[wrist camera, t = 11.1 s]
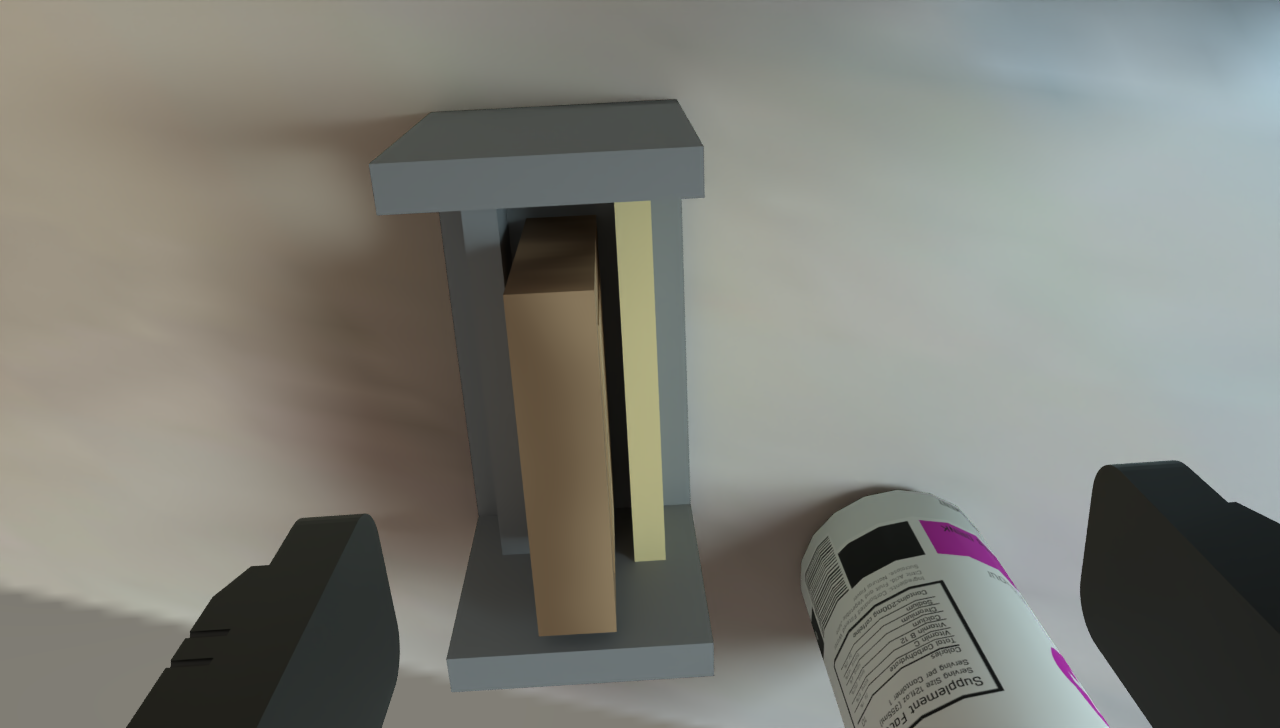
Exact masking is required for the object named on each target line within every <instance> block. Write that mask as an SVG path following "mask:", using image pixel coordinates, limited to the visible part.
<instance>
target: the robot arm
mask: <svg viewBox="0 0 1280 728" xmlns="http://www.w3.org/2000/svg"><path fill="white" fill-rule="evenodd" d="M1080 597H1081V606H1082V611H1083V616H1084V619H1085V623H1086V626H1087V628H1088V631H1089V633H1090V635H1091V637H1092V639H1093V641H1094V643H1095V644H1096V646H1097V647H1098V649H1099V650H1100V652H1101V653H1102V654H1103V656H1104V657H1105V659H1106V660H1107V662H1108V663H1109V665H1110V666H1111V668H1112V669H1113V670H1114V672H1115V673H1116V675H1117V676H1118V678H1119V679H1120V681H1121V682H1122V683H1123V685H1124V686H1125V688H1126V689H1127V691H1128V692H1129V694H1130V695H1131V697H1132V698H1133V699H1134V701H1135V702H1136V704H1137V705H1138V707H1139V708H1140V710H1141V711H1142V713H1143V714H1144V715H1145V717H1146V718H1147V720H1148V721H1149V723H1150V724H1151V726H1152V727H1153V728H1280V524H1279V523H1277V522H1275V521H1273V520H1271V519H1269V518H1267V517H1265V516H1263V515H1261V514H1259V513H1257V512H1255V511H1253V510H1251V509H1249V508H1247V507H1245V506H1243V505H1241V504H1239V503H1237V502H1230V503H1228V502H1227V501H1226V500H1225V499H1223V498H1222V497H1221V496H1220V495H1219V494H1218V493H1217V492H1216V491H1214V490H1213V489H1212V488H1211V487H1210V486H1209V485H1208V484H1207V483H1206V482H1204V481H1203V480H1202V479H1201V478H1200V477H1199V476H1198V475H1197V474H1195V473H1194V472H1193V471H1192V470H1191V469H1190V468H1189V467H1188V466H1186V465H1185V464H1184V463H1182V462H1179V461H1174V460H1172V461H1157V462H1143V463H1128V464H1113V465H1105V466H1103V467H1102V468H1101V469H1100V470H1099V471H1098V473H1097V475H1096V477H1095V480H1094V484H1093V489H1092V497H1091V505H1090V512H1089V520H1088V528H1087V535H1086V543H1085V551H1084V559H1083V566H1082V574H1081V582H1080ZM399 656H400V643H399V631H398V625H397V620H396V615H395V611H394V606H393V601H392V596H391V592H390V587H389V582H388V577H387V573H386V568H385V563H384V559H383V554H382V549H381V544H380V540H379V535H378V531H377V527H376V525H375V522H374V520H373V519H372V517H371V516H370V515H369V514H354V515H339V516H324V517H310V518H301V519H299V520H297V521H296V522H295V524H294V525H293V527H292V528H291V530H290V532H289V533H288V535H287V537H286V538H285V540H284V542H283V543H282V545H281V547H280V548H279V550H278V552H277V553H276V555H275V557H274V558H273V560H272V562H271V563H270V565H264V566H251V567H250V568H248V569H247V570H246V571H245V572H243V573H242V574H241V575H240V576H238V577H237V578H236V579H235V580H233V581H232V582H231V583H230V584H228V585H227V586H226V587H225V588H223V589H222V590H221V591H220V592H218V593H217V594H216V595H215V596H213V597H212V599H211V600H210V602H209V603H208V605H207V606H206V608H205V609H204V611H203V613H202V614H201V616H200V617H199V619H198V620H197V622H196V623H195V625H194V626H193V628H192V629H191V631H190V638H186V639H185V640H184V641H183V643H182V644H181V646H180V647H179V649H178V650H177V652H176V653H175V655H174V656H173V658H172V659H171V667H170V668H166V669H165V670H164V671H163V673H162V674H161V676H160V677H159V679H158V681H157V682H156V683H155V685H154V687H153V688H152V689H151V691H150V693H149V694H148V696H147V697H146V699H145V700H144V702H143V703H142V705H141V706H140V708H139V709H138V711H137V712H136V714H135V715H134V717H133V718H132V720H131V722H130V723H129V724H128V726H127V727H126V728H382V725H383V722H384V719H385V716H386V713H387V709H388V707H389V703H390V700H391V697H392V694H393V691H394V688H395V685H396V681H397V676H398V669H399Z"/></svg>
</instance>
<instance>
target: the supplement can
mask: <svg viewBox="0 0 1280 728" xmlns="http://www.w3.org/2000/svg"><path fill="white" fill-rule="evenodd" d="M801 592H802V595H803V598H804V601H805V604H806V607H807V610H808V614H809V617H810V620H811V623H812V626H813V629H814V632H815V635H816V639H817V642H818V645H819V648H820V651H821V654H822V657H823V660H824V663H825V667H826V670H827V673H828V676H829V679H830V682H831V685H832V688H833V692H834V695H835V698H836V701H837V704H838V707H839V710H840V713H841V717H842V720H843V723H844V726H845V728H1110V727H1109V725H1108V724H1107V722H1106V721H1105V719H1104V718H1103V716H1102V715H1101V713H1100V712H1099V710H1098V709H1097V707H1096V706H1095V705H1094V703H1093V702H1092V700H1091V699H1090V697H1089V696H1088V694H1087V693H1086V691H1085V690H1084V688H1083V687H1082V685H1081V684H1080V682H1079V681H1078V679H1077V678H1076V676H1075V675H1074V673H1073V672H1072V670H1071V669H1070V667H1069V666H1068V664H1067V663H1066V661H1065V660H1064V658H1063V657H1062V655H1061V654H1060V652H1059V651H1058V649H1057V648H1056V646H1055V645H1054V643H1053V642H1052V640H1051V639H1050V637H1049V636H1048V634H1047V633H1046V631H1045V630H1044V628H1043V627H1042V625H1041V624H1040V622H1039V621H1038V619H1037V618H1036V616H1035V615H1034V613H1033V612H1032V611H1031V609H1030V608H1029V606H1028V605H1027V603H1026V602H1025V600H1024V599H1023V597H1022V596H1021V594H1020V593H1019V591H1018V590H1017V588H1016V587H1015V585H1014V584H1013V582H1012V581H1011V579H1010V578H1009V576H1008V575H1007V573H1006V572H1005V570H1004V569H1003V567H1002V566H1001V564H1000V563H999V561H998V560H997V558H996V557H995V555H994V554H993V552H992V551H991V549H990V548H989V546H988V545H987V543H986V542H985V540H984V539H983V537H982V536H981V534H980V533H979V531H978V530H977V528H976V527H975V526H974V525H973V523H972V522H971V521H970V520H969V519H968V518H967V517H966V516H965V515H964V514H963V513H962V511H961V510H960V509H959V508H958V507H957V506H956V505H954V504H951V503H949V502H947V501H945V500H943V499H941V498H939V497H936V496H934V495H932V494H930V493H923V492H913V491H903V490H894V491H889V492H885V493H880V494H875V495H870V496H866V497H863V498H861V499H859V500H857V501H856V502H854V503H852V504H850V505H848V506H846V507H845V508H843V509H841V510H839V511H837V512H835V513H834V514H833V515H832V516H831V517H830V518H829V519H828V520H827V522H826V523H825V524H824V525H823V526H822V527H821V528H820V529H819V530H818V531H817V532H816V533H815V534H814V535H813V537H812V539H811V541H810V544H809V546H808V548H807V550H806V553H805V555H804V557H803V559H802V562H801Z"/></svg>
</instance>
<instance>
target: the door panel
mask: <svg viewBox="0 0 1280 728" xmlns="http://www.w3.org/2000/svg"><path fill="white" fill-rule="evenodd" d="M503 300H504V310H505V319H506V329H507V338H508V348H509V357H510V367H511V376H512V386H513V395H514V405H515V414H516V424H517V433H518V443H519V452H520V462H521V471H522V481H523V491H524V500H525V510H526V519H527V529H528V538H529V548H530V557H531V567H532V576H533V586H534V595H535V605H536V614H537V624H538V633H539V636H555V635H572V634H589V633H606V632H617V626H616V581H615V535H614V492H613V471H612V455H611V439H610V423H609V407H608V391H607V375H606V359H605V343H604V327H603V311H602V295H601V279H600V267H599V253H598V237H597V221H596V215H581V216H561V217H542V218H526V221H525V224H524V228H523V231H522V234H521V238H520V241H519V244H518V247H517V251H516V254H515V257H514V261H513V264H512V267H511V270H510V274H509V277H508V280H507V284H506V287H505V290H504V293H503Z"/></svg>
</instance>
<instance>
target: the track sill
mask: <svg viewBox="0 0 1280 728" xmlns="http://www.w3.org/2000/svg"><path fill="white" fill-rule="evenodd" d="M369 168H370V175H371V181H372V188H373V194H374V200H375V207H376V213H377V215H393V214H411V213H430V212H439V216H440V224H441V231H442V239H443V247H444V254H445V262H446V270H447V277H448V285H449V293H450V300H451V308H452V316H453V323H454V331H455V339H456V346H457V354H458V362H459V369H460V377H461V384H462V392H463V400H464V407H465V415H466V423H467V430H468V438H469V446H470V453H471V461H472V469H473V476H474V484H475V492H476V499H477V507H478V515H479V517H478V522H477V526H476V531H475V535H474V540H473V544H472V548H471V553H470V557H469V562H468V566H467V571H466V575H465V579H464V584H463V588H462V593H461V597H460V602H459V606H458V610H457V615H456V619H455V624H454V628H453V633H452V637H451V641H450V646H449V650H448V655H447V659H446V660H447V666H448V672H449V679H450V685H451V691H452V692H463V691H479V690H495V689H511V688H527V687H543V686H559V685H575V684H591V683H607V682H623V681H639V680H655V679H671V678H687V677H703V676H714V648H713V637H712V631H711V625H710V619H709V613H708V607H707V601H706V595H705V589H704V583H703V577H702V571H701V565H700V559H699V553H698V547H697V541H696V535H695V529H694V523H693V517H692V510H691V504H690V473H689V439H688V405H687V371H686V337H685V303H684V269H683V236H682V202H681V199H688V198H705V194H704V146H703V144H702V143H701V141H700V139H699V137H698V136H697V134H696V132H695V131H694V129H693V127H692V125H691V124H690V122H689V120H688V118H687V117H686V115H685V113H684V111H683V110H682V108H681V106H680V104H679V103H678V101H677V99H674V100H655V101H635V102H616V103H597V104H578V105H559V106H540V107H521V108H502V109H483V110H463V111H444V112H431V113H430V114H428V115H427V116H426V117H425V118H424V119H422V120H421V121H420V122H419V123H418V124H416V125H415V126H414V127H413V128H412V129H410V130H409V131H408V132H407V133H406V134H404V135H403V136H402V137H401V138H400V139H398V140H397V141H396V142H395V143H394V144H392V145H391V146H390V147H389V148H388V149H386V150H385V151H384V152H383V153H382V154H380V155H379V156H378V157H377V158H376V159H374V160H373V161H372V162H371V163H370V164H369ZM581 215H596V221H597V237H598V253H599V267H600V279H601V295H602V311H603V327H604V343H605V359H606V375H607V391H608V407H609V423H610V439H611V455H612V471H613V492H614V535H615V581H616V626H617V632H606V633H589V634H572V635H555V636H539V633H538V624H537V614H536V605H535V595H534V586H533V576H532V567H531V557H530V548H529V538H528V529H527V519H526V510H525V500H524V491H523V481H522V471H521V462H520V452H519V443H518V433H517V424H516V414H515V405H514V395H513V386H512V376H511V367H510V357H509V348H508V338H507V329H506V319H505V310H504V300H503V293H504V290H505V287H506V284H507V280H508V277H509V274H510V270H511V267H512V264H513V261H514V257H515V254H516V251H517V247H518V244H519V241H520V238H521V234H522V231H523V228H524V224H525V221H526V218H542V217H561V216H581Z"/></svg>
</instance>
